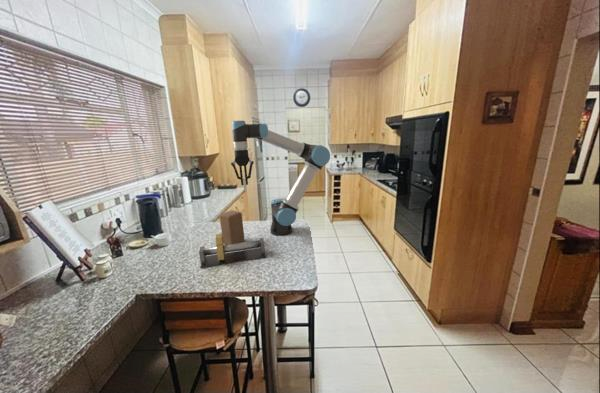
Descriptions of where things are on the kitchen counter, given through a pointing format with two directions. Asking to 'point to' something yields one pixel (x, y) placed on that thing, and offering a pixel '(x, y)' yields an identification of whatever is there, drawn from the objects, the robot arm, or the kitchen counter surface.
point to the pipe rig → (233, 253)
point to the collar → (219, 246)
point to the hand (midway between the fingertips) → (245, 190)
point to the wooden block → (232, 227)
